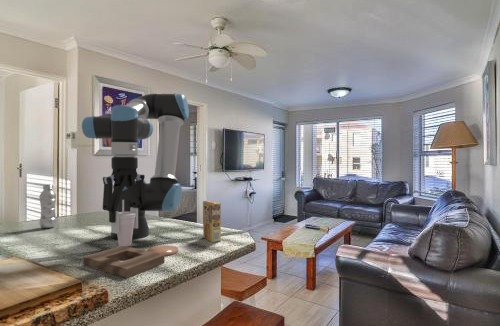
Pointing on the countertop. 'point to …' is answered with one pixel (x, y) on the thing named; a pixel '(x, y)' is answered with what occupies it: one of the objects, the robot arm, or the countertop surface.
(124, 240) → the smoothie
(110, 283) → the countertop surface
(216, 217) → the candy box
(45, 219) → the plastic bottle
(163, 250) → the glossy peach dome
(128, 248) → the frame
